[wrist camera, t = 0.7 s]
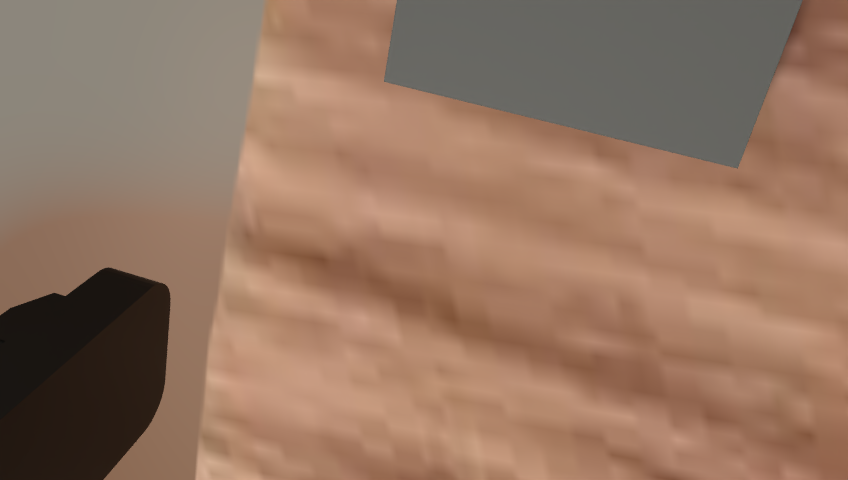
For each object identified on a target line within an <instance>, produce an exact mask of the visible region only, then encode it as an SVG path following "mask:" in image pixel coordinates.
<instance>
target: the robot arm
mask: <svg viewBox="0 0 848 480" xmlns="http://www.w3.org/2000/svg"><path fill="white" fill-rule="evenodd" d="M169 315H170V292H169V289H168V287H167V286H166V285H165V284H163V283H159V282H156V281H152V280H149V279H146V278H143V277H139V276H136V275H133V274H129V273H126V272H123V271H119V270H116V269H113V268H104V269H102V270H100V271H99V272H97V273H96V274H95V275H93V276H92V277H91V278H89V279H88V280H87V281H85V282H84V283H83V284H81V285H80V286H79V287H77V288H76V289H75V290H73V291H72V292H71V293H69V294H68V295H67V296H63V295H59V294H56V293H52V294H50V295H47V296H44V297H41V298H38V299H35V300H32V301H30V302H27V303H24V304H21V305H18V306H15V307H12V308H10V309H9V310H7V311H6V312H4V313H3V314H1V315H0V480H103V479H104V478H105V477H106V476H107V475H108V474H109V472H110V471H111V470H112V469H113V468H114V466H115V465H116V464H117V463H118V462H119V461H120V460H121V458H122V457H123V456H124V455H125V454H126V453H127V451H128V450H129V449H130V448H131V447H132V446H133V444H134V443H135V442H136V441H137V440H138V438H139V437H140V436H141V435H142V434H143V433H144V431H145V430H146V429H147V427H148V426H149V424H150V423H151V421H152V419H153V417H154V415H155V413H156V411H157V409H158V406H159V404H160V401H161V398H162V394H163V390H164V385H165V374H166V359H167V345H168V330H169Z"/></svg>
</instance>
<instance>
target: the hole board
mask: <svg viewBox="0 0 848 480" xmlns="http://www.w3.org/2000/svg"><path fill="white" fill-rule="evenodd" d="M801 3H802V0H397V4H396V10H395V16H394V22H393V29H392V35H391V41H390V47H389V53H388V60H387V66H386V72H385V78H384V82H387V83H391V84H396V85H400V86H404V87H408V88H412V89H416V90H420V91H424V92H428V93H432V94H436V95H440V96H444V97H449V98H453V99H457V100H461V101H465V102H469V103H473V104H477V105H481V106H485V107H489V108H493V109H497V110H501V111H506V112H510V113H514V114H518V115H522V116H526V117H530V118H534V119H538V120H542V121H546V122H550V123H554V124H558V125H563V126H567V127H571V128H575V129H579V130H583V131H587V132H591V133H595V134H599V135H603V136H607V137H611V138H615V139H620V140H624V141H628V142H632V143H636V144H640V145H644V146H648V147H652V148H656V149H660V150H664V151H668V152H672V153H677V154H681V155H685V156H689V157H693V158H697V159H701V160H705V161H709V162H713V163H717V164H721V165H725V166H730V167H734V168H738V166H739V164H740V161H741V158H742V156H743V153H744V151H745V148H746V145H747V143H748V140H749V138H750V135H751V133H752V130H753V127H754V125H755V122H756V120H757V117H758V114H759V112H760V109H761V107H762V104H763V101H764V99H765V96H766V94H767V91H768V88H769V86H770V83H771V81H772V78H773V76H774V73H775V70H776V68H777V65H778V63H779V60H780V57H781V55H782V52H783V50H784V47H785V44H786V42H787V39H788V37H789V34H790V31H791V29H792V26H793V24H794V21H795V19H796V16H797V13H798V11H799V8H800V6H801Z"/></svg>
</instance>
